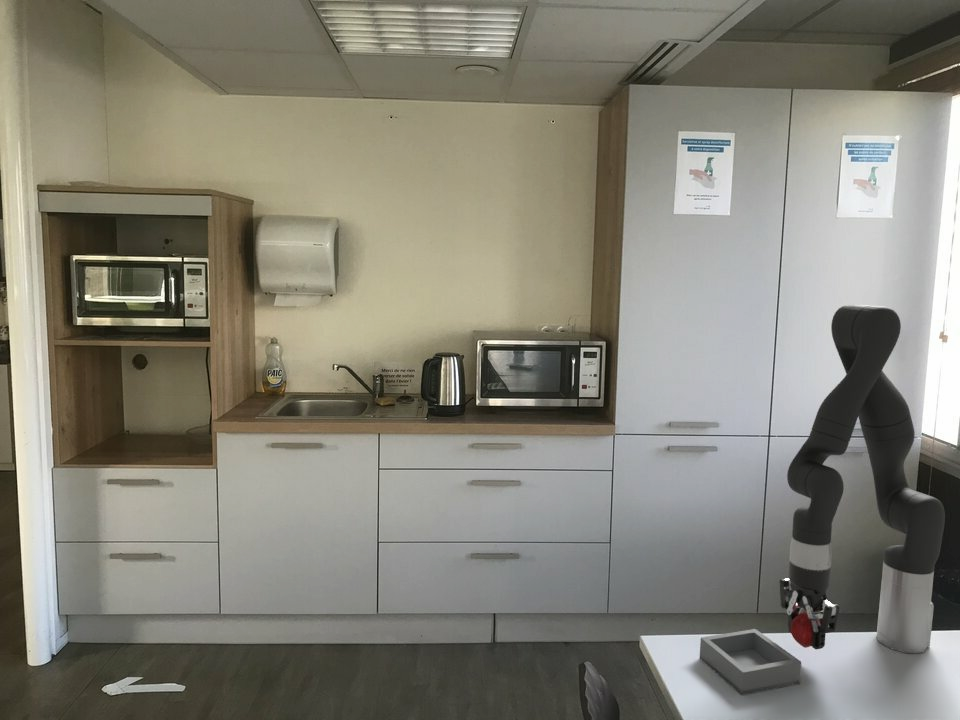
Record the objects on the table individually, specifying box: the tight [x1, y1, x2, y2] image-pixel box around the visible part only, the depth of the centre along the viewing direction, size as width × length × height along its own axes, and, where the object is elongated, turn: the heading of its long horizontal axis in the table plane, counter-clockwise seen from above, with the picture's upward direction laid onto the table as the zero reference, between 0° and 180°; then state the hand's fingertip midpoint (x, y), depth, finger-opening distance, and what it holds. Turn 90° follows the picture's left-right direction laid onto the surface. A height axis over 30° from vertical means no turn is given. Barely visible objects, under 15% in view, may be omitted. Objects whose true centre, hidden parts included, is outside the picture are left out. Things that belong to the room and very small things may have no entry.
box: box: [699, 628, 802, 696], centre depth 141 cm, size 13×13×4 cm
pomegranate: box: [790, 610, 821, 649], centre depth 145 cm, size 6×6×8 cm
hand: (805, 639), depth 145 cm, fingers closed on pomegranate, 6 cm apart
